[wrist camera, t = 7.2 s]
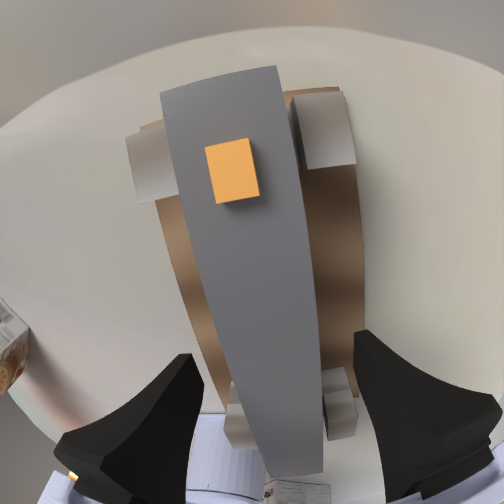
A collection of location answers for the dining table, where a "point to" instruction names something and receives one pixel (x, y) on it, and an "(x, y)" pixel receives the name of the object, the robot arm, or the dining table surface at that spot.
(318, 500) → the light bulb box
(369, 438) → the dining table surface
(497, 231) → the dining table surface
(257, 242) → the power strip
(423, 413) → the robot arm
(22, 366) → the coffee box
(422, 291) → the dining table surface
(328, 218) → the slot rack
